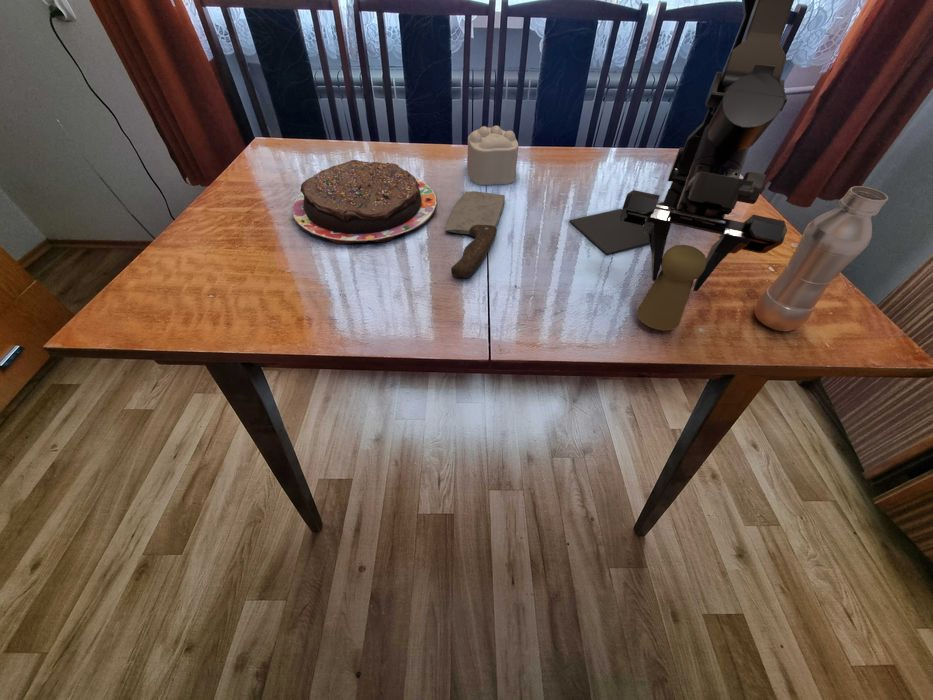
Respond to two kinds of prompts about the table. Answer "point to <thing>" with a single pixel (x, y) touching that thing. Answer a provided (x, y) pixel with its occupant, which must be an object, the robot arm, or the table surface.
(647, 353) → the table surface
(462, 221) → the cleaver
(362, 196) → the chocolate cake
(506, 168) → the lumpy-topped squat cylinder
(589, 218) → the dark square mat
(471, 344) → the table surface
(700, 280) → the robot arm
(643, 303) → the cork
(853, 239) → the plastic bottle
